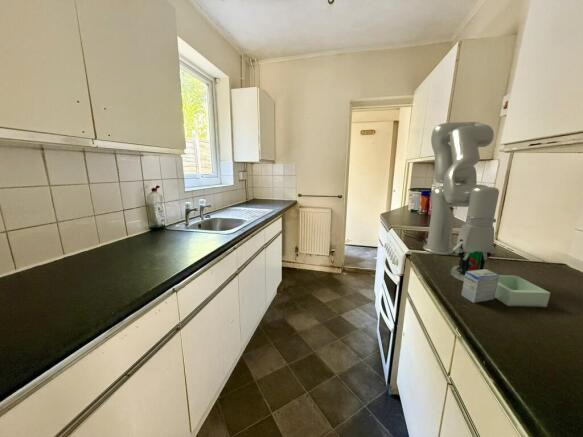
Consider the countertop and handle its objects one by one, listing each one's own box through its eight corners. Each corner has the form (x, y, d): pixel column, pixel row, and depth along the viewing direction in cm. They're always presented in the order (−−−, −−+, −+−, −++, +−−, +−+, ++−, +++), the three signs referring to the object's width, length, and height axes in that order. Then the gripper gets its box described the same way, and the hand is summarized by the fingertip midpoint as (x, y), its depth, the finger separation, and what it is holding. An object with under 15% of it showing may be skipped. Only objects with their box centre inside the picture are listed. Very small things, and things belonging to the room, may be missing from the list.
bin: (480, 287, 79) (482, 274, 78) (513, 287, 79) (516, 275, 78) (507, 306, 68) (511, 292, 67) (546, 306, 68) (550, 292, 67)
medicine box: (480, 292, 76) (485, 268, 74) (494, 300, 71) (500, 274, 69) (460, 295, 74) (465, 271, 72) (474, 303, 70) (479, 277, 68)
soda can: (480, 280, 83) (486, 249, 81) (465, 279, 84) (470, 248, 82) (473, 274, 88) (478, 244, 86) (458, 273, 89) (463, 244, 87)
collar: (445, 270, 92) (446, 265, 91) (473, 270, 91) (474, 266, 91) (464, 283, 81) (465, 278, 81) (496, 284, 81) (497, 279, 80)
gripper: (495, 219, 85) (486, 265, 89) (448, 219, 86) (441, 264, 90) (513, 224, 77) (503, 273, 81) (461, 224, 78) (453, 273, 82)
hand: (470, 268), depth 86 cm, fingers closed on soda can, 5 cm apart
